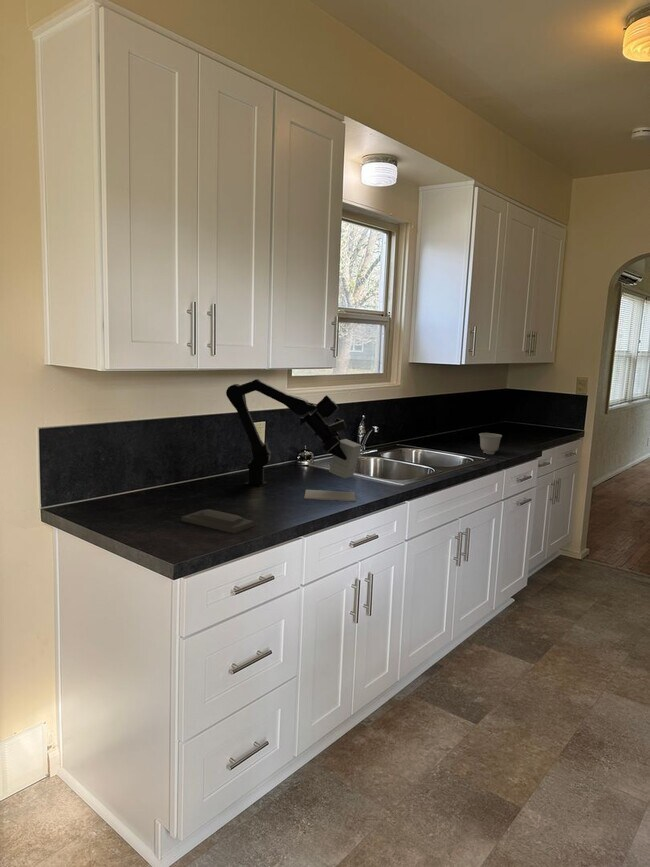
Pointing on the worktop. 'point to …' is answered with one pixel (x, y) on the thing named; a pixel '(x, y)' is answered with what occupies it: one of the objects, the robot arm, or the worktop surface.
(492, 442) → the teacup
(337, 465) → the supplement box
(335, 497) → the grey mat
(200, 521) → the soap mold
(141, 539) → the worktop surface
